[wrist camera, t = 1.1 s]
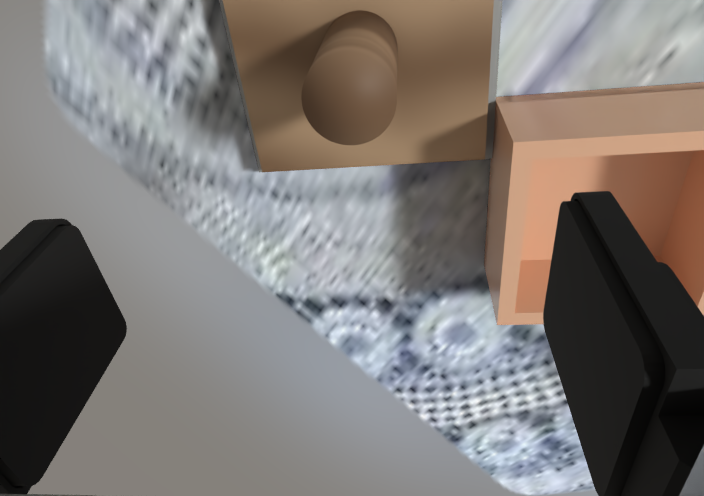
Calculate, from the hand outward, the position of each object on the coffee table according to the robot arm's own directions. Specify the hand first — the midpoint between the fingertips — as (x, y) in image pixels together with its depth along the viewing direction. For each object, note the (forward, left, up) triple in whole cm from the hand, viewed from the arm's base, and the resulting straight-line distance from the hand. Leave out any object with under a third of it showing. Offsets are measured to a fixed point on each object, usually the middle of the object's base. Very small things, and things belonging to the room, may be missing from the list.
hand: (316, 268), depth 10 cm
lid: (0, 0, -16) cm, 16 cm away
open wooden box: (+8, +11, -16) cm, 21 cm away
